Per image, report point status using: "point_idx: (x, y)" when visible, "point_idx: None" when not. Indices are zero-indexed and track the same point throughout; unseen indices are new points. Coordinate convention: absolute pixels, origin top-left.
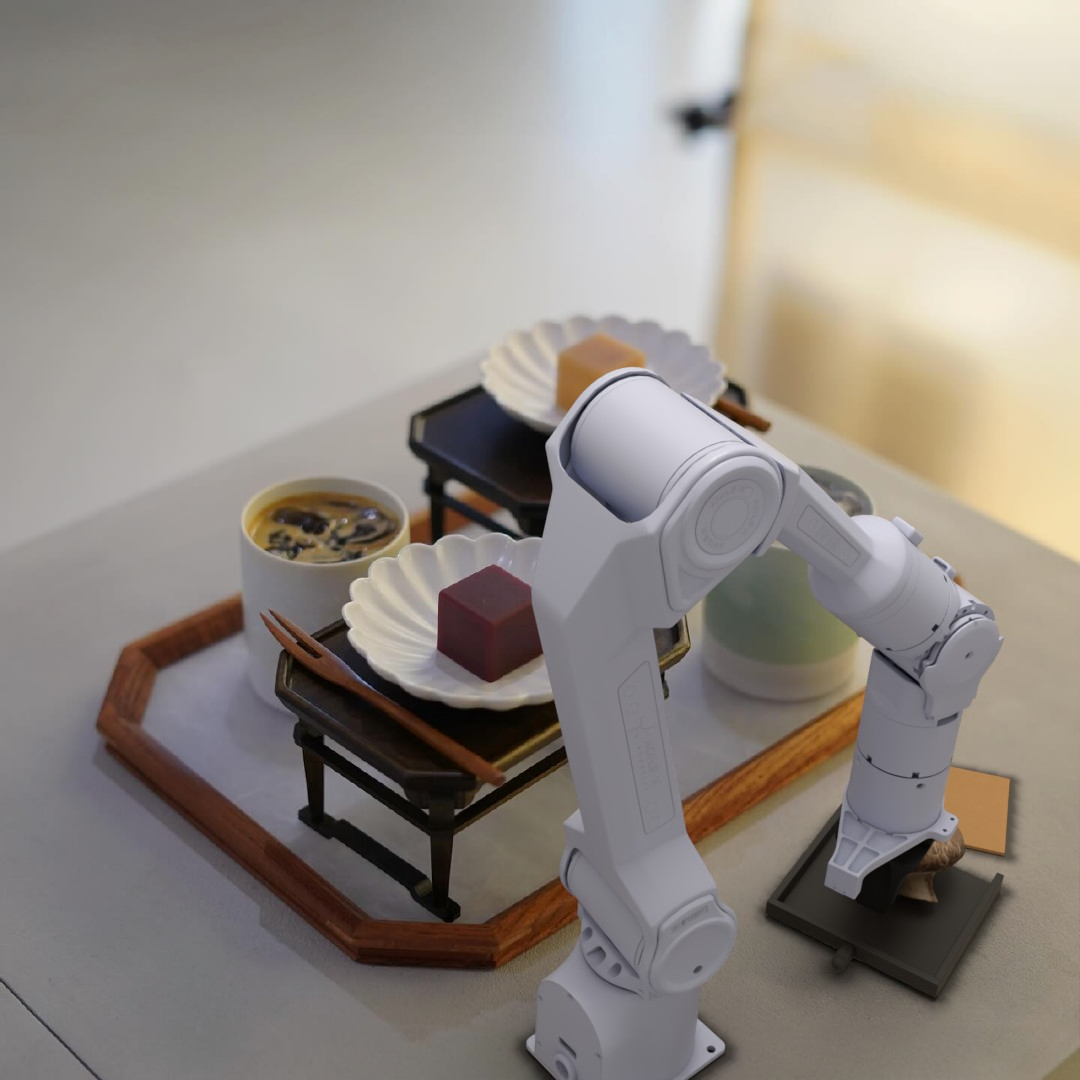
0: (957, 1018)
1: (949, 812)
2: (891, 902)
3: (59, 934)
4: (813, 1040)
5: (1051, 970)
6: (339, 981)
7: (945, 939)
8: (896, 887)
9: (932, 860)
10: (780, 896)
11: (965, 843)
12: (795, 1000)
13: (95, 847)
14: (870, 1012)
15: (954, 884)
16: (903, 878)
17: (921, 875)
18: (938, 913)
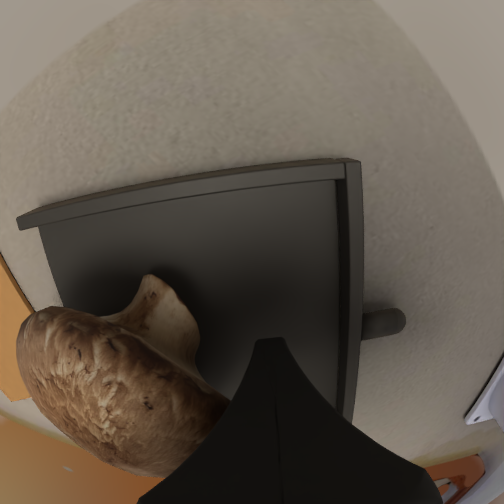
0: (347, 107)
1: (6, 334)
2: (290, 357)
3: (489, 499)
4: (487, 264)
5: (122, 42)
6: (498, 465)
7: (201, 215)
8: (324, 400)
9: (141, 376)
10: None
11: (18, 296)
12: (446, 316)
13: None
14: (421, 231)
15: (82, 270)
16: (296, 412)
17: (153, 344)
18: (155, 258)
